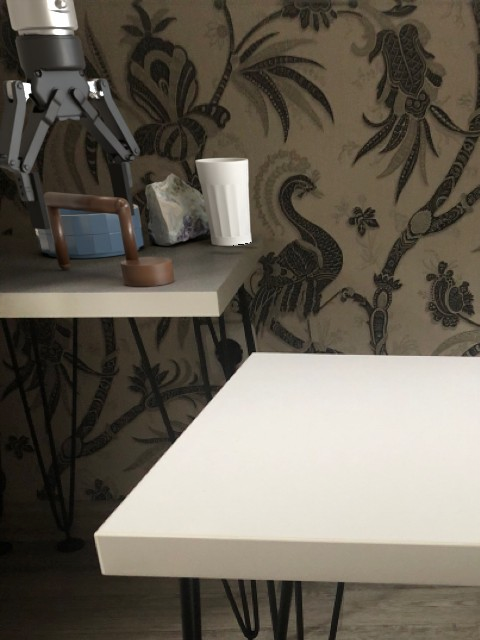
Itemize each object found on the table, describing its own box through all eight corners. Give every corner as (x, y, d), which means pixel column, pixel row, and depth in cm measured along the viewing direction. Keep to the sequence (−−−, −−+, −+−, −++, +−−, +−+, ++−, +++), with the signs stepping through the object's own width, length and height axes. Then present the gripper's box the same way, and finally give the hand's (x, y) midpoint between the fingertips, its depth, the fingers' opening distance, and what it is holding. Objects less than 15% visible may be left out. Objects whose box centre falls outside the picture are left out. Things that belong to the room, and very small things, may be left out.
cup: (267, 240, 148) (258, 158, 142) (233, 248, 142) (223, 162, 136) (230, 237, 152) (220, 157, 146) (195, 244, 146) (184, 161, 140)
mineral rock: (215, 233, 156) (207, 168, 151) (236, 241, 148) (228, 173, 143) (139, 239, 150) (128, 172, 145) (157, 248, 142) (145, 178, 137)
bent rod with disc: (184, 280, 120) (172, 197, 115) (147, 288, 116) (132, 203, 111) (80, 265, 130) (64, 189, 125) (41, 273, 126) (23, 193, 121)
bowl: (33, 261, 134) (23, 217, 131) (49, 245, 146) (40, 204, 143) (141, 256, 136) (133, 213, 133) (147, 240, 149) (141, 201, 146)
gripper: (-29, 30, 100) (20, 236, 111) (148, 34, 118) (176, 211, 129) (-69, 33, 103) (-17, 232, 114) (109, 36, 122) (139, 208, 132)
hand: (85, 221), depth 121 cm, fingers open, 13 cm apart
